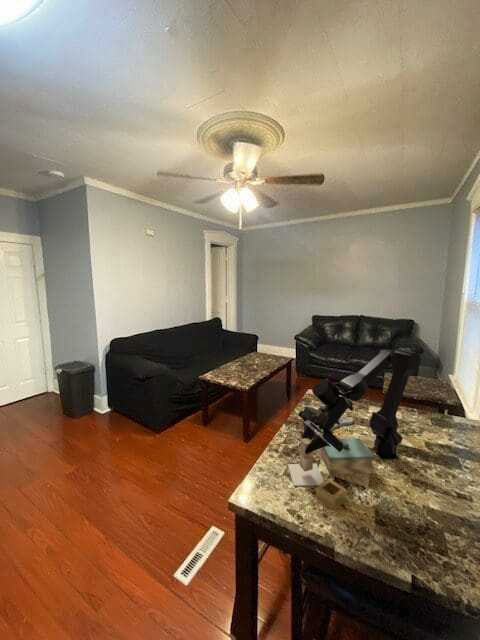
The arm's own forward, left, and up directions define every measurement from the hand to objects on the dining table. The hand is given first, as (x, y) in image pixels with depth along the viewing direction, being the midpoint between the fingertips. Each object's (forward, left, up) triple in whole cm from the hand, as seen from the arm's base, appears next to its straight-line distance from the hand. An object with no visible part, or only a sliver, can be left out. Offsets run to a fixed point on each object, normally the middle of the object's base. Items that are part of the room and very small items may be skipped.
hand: (302, 450), depth 90 cm
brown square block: (-1, 0, -7) cm, 7 cm away
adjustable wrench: (-20, -30, -10) cm, 37 cm away
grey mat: (-1, 0, -9) cm, 9 cm away
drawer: (-16, -5, -9) cm, 19 cm away
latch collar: (-6, +10, -9) cm, 15 cm away
